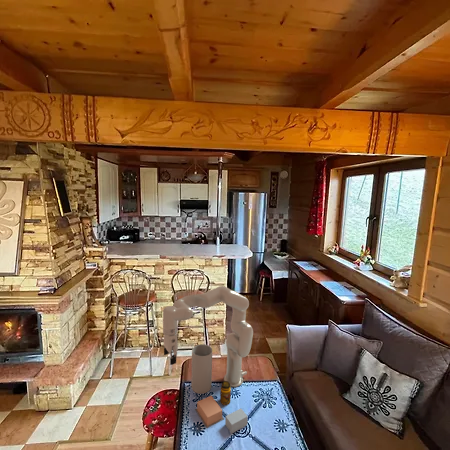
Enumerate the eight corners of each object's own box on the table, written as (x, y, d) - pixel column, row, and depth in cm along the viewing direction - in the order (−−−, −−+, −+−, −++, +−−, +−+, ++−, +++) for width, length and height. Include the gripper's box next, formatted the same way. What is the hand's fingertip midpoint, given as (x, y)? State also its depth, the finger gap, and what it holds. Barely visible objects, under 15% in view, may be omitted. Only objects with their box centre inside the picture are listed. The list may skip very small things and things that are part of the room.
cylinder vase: (187, 391, 164) (188, 353, 161) (197, 377, 176) (197, 342, 172) (206, 397, 160) (207, 358, 156) (214, 383, 171) (215, 347, 168)
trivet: (211, 402, 156) (211, 401, 156) (224, 420, 144) (224, 419, 144) (194, 410, 150) (194, 409, 150) (206, 429, 138) (206, 428, 138)
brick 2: (240, 418, 146) (241, 408, 145) (247, 426, 141) (247, 416, 140) (225, 426, 141) (225, 416, 140) (231, 435, 136) (232, 424, 135)
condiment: (229, 408, 152) (229, 389, 150) (215, 404, 154) (215, 385, 153) (232, 399, 159) (233, 380, 157) (219, 395, 161) (219, 377, 160)
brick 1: (197, 409, 149) (197, 401, 149) (211, 403, 154) (211, 395, 154) (207, 426, 139) (207, 417, 139) (222, 418, 144) (222, 410, 144)
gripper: (182, 335, 139) (182, 365, 141) (171, 321, 153) (170, 348, 155) (169, 339, 135) (168, 370, 137) (158, 324, 149) (158, 352, 151)
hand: (169, 358), depth 146 cm, fingers open, 9 cm apart
